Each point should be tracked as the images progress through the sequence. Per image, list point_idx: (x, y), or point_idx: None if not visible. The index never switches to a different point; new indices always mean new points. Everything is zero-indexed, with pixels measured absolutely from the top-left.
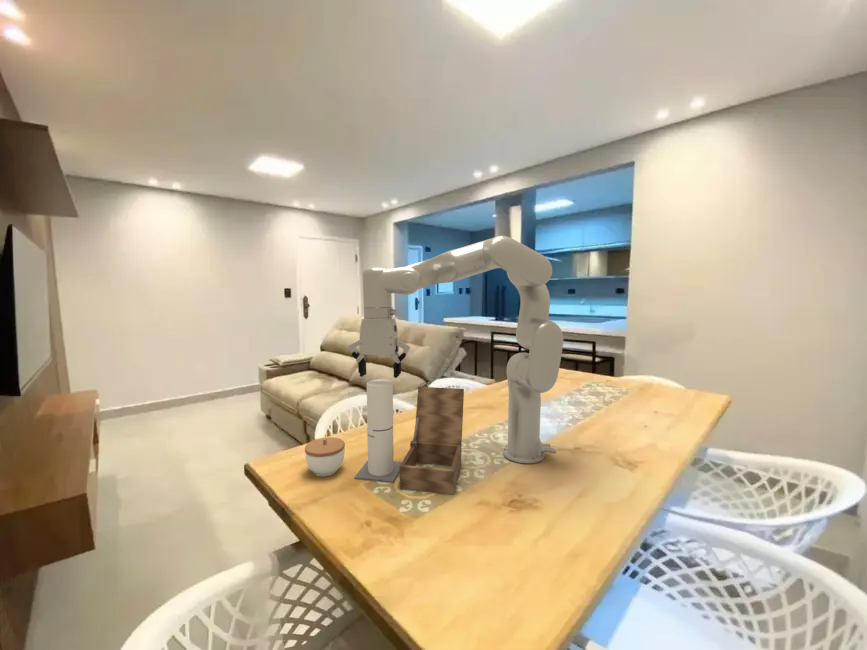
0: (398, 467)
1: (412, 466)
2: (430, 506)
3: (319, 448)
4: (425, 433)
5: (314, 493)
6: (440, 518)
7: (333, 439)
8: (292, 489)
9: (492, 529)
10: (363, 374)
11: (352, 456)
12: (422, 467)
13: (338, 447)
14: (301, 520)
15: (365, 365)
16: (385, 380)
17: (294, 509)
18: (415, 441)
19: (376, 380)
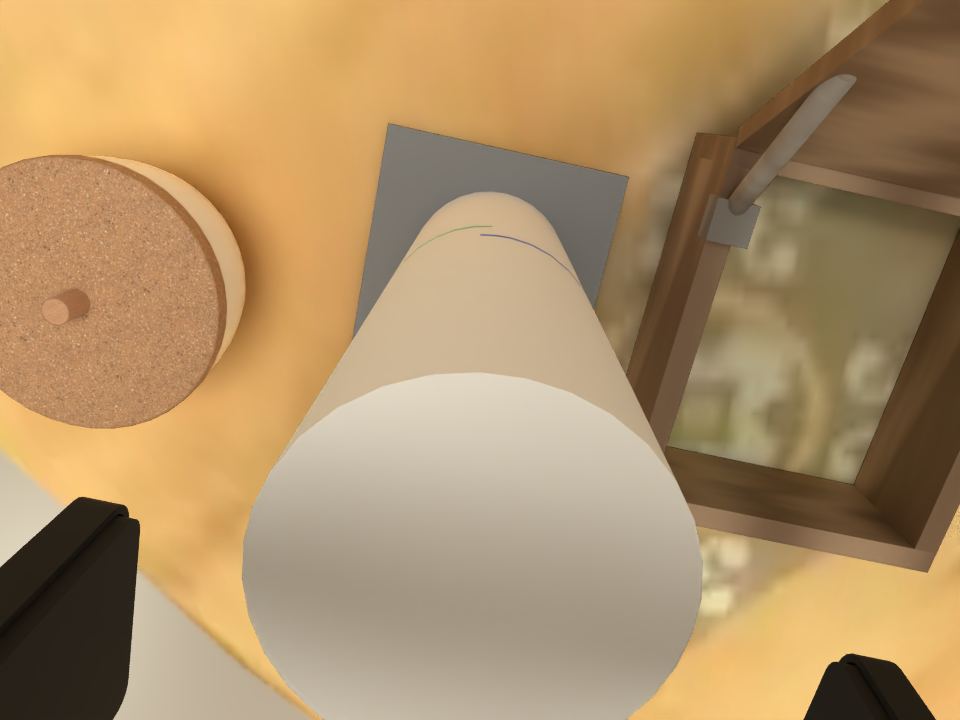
0: (593, 247)
1: (698, 514)
2: (741, 584)
3: (69, 369)
4: (854, 146)
5: (195, 476)
6: (771, 655)
7: (103, 214)
8: (72, 440)
9: (955, 716)
10: (117, 673)
11: (265, 58)
12: (756, 526)
13: (194, 352)
14: (224, 648)
15: (14, 685)
16: (561, 461)
17: (162, 585)
18: (747, 211)
19: (388, 456)
